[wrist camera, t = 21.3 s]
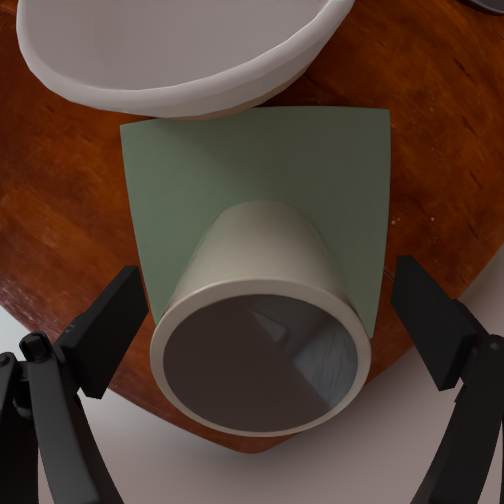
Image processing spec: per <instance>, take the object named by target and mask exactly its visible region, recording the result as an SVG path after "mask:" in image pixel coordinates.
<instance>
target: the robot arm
mask: <svg viewBox="0 0 504 504" xmlns="http://www.w3.org/2000/svg"><path fill="white" fill-rule="evenodd" d="M459 1H461V2H462V3H464V4H466V5H467V6H469V7H471V8H473V9H475V10H477V11H480V12H482V13H485V14H489V15H494V16H504V0H459ZM390 303H391V304H392V306H393V308H394V310H395V311H396V313H397V315H398V316H399V318H400V320H401V321H402V323H403V325H404V327H405V328H406V330H407V332H408V334H409V336H410V337H411V339H412V341H413V343H414V344H415V346H416V348H417V350H418V352H419V354H420V355H421V357H422V359H423V361H424V363H425V365H426V367H427V369H428V370H429V372H430V374H431V376H432V378H433V380H434V382H435V384H436V386H437V388H438V390H439V391H443V390H447V389H451V388H455V386H456V384H457V381H458V379H459V377H461V379H462V381H463V383H464V384H463V386H462V388H461V390H460V392H459V394H458V396H457V397H456V399H455V401H454V402H456V405H455V408H454V411H453V413H452V416H451V419H450V421H449V424H448V426H447V429H446V431H445V434H444V437H443V439H442V441H441V444H440V446H439V448H438V450H437V452H436V455H435V457H434V459H433V461H432V463H431V465H430V468H429V469H428V472H427V473H426V475H425V478H424V479H423V481H422V483H421V485H420V487H419V489H418V491H417V492H416V494H415V496H414V498H413V500H412V501H411V503H410V504H477V503H478V500H479V498H480V495H481V492H482V489H483V487H484V484H485V481H486V478H487V475H488V472H489V468H490V465H491V462H492V458H493V455H494V451H495V447H496V443H497V439H498V435H499V431H500V426H501V421H502V431H503V462H502V483H501V493H500V503H499V504H504V338H503V337H501V336H499V335H494V334H492V335H489V333H488V332H487V331H486V330H485V329H484V327H483V326H482V325H481V324H480V323H479V322H478V320H477V319H476V318H474V315H473V314H472V313H470V311H469V310H468V308H467V307H466V306H465V305H464V304H463V303H461V302H459V301H458V300H456V299H450V298H449V296H448V295H447V294H446V293H445V292H444V291H443V290H442V288H441V287H440V286H439V285H438V284H437V283H436V282H435V281H434V279H433V278H432V277H431V276H430V275H429V274H428V273H427V272H426V271H425V270H424V269H423V267H422V266H421V265H420V264H419V263H418V262H417V261H416V260H415V259H414V258H413V257H412V256H411V255H400V256H397V264H396V271H395V278H394V284H393V290H392V296H391V302H390ZM148 312H149V309H148V305H147V301H146V297H145V293H144V289H143V285H142V281H141V277H140V272H139V268H138V266H125V267H124V268H123V269H122V270H121V271H120V272H119V273H118V275H117V276H116V277H115V278H114V279H113V280H112V281H111V283H110V284H109V285H108V286H107V287H106V288H105V289H104V291H103V292H102V293H101V294H100V295H99V296H98V298H97V299H96V300H95V301H94V302H93V304H92V305H91V306H90V307H89V308H88V310H87V311H86V312H83V313H81V314H80V315H78V316H77V317H75V318H74V319H73V320H72V322H71V323H70V324H69V326H67V328H66V329H65V330H64V332H63V333H62V334H61V335H60V336H59V338H58V339H57V340H56V341H55V343H54V344H53V345H51V343H50V341H49V339H48V337H47V335H46V333H45V332H43V331H35V332H32V333H30V334H28V335H26V336H25V337H24V338H22V340H21V341H20V343H19V347H20V349H21V351H22V353H23V355H24V357H25V358H26V360H27V361H17V359H16V357H15V355H14V354H13V353H11V352H5V353H1V354H0V504H39V502H38V501H39V500H38V445H39V449H40V454H41V457H42V462H43V466H44V470H45V474H46V477H47V481H48V484H49V488H50V491H51V494H52V497H53V500H54V503H55V504H124V502H123V501H122V498H121V497H120V495H119V493H118V491H117V489H116V487H115V485H114V483H113V481H112V479H111V476H110V474H109V472H108V470H107V468H106V466H105V463H104V461H103V459H102V457H101V454H100V452H99V449H98V447H97V445H96V442H95V440H94V437H93V435H92V432H91V429H90V427H89V424H88V421H87V418H86V415H85V413H84V409H83V407H82V404H81V400H80V398H79V396H78V395H77V392H78V390H79V388H80V387H81V389H82V390H83V392H84V394H85V395H86V397H91V398H96V399H102V397H103V395H104V393H105V391H106V389H107V387H108V385H109V383H110V381H111V379H112V377H113V375H114V373H115V372H116V370H117V368H118V366H119V364H120V362H121V360H122V358H123V357H124V355H125V353H126V351H127V349H128V347H129V346H130V344H131V342H132V340H133V338H134V337H135V335H136V333H137V331H138V329H139V328H140V326H141V324H142V322H143V321H144V319H145V317H146V315H147V314H148ZM13 402H14V403H13Z"/></svg>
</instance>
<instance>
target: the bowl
mask: <svg viewBox="0 0 504 504" xmlns="http://www.w3.org/2000/svg"><path fill="white" fill-rule="evenodd" d="M354 2H355V0H19V2H18V7H17V22H16V30H17V36H18V41H19V46H20V51H21V53H22V55H23V57H24V59H25V61H26V63H27V65H28V67H29V69H30V70H31V71H32V72H33V73H34V74H35V76H36V77H37V78H38V79H39V80H40V81H41V82H42V83H43V84H44V85H45V86H46V87H47V88H48V89H50V90H52V91H53V92H55V93H57V94H59V95H60V96H62V97H64V98H65V99H67V100H69V101H71V102H75V103H78V104H82V105H86V106H89V107H93V108H96V109H100V110H108V111H115V112H122V113H129V114H135V115H145V116H151V117H157V118H165V119H173V120H181V121H188V120H208V119H214V118H218V117H223V116H227V115H232V114H236V113H239V112H241V111H244V110H247V109H249V108H252V107H254V106H257V105H260V104H262V103H264V102H265V101H267V100H269V99H270V98H272V97H274V96H275V95H277V94H279V93H280V92H282V91H284V90H285V89H286V88H287V87H289V86H290V85H291V84H292V83H293V82H294V81H295V80H297V79H298V78H299V77H300V76H301V75H303V74H304V72H305V71H306V70H307V68H308V67H309V66H310V65H311V63H312V62H313V61H314V60H315V58H316V57H317V56H318V54H319V53H320V51H321V50H322V48H323V47H324V46H325V44H326V43H327V42H328V41H329V39H330V38H331V37H332V35H333V34H334V32H335V31H336V30H337V28H338V27H339V25H340V24H341V23H342V21H343V20H344V18H345V17H346V16H347V14H348V13H349V11H350V10H351V9H352V6H353V4H354Z"/></svg>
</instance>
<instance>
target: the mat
mask: <svg viewBox="0 0 504 504" xmlns="http://www.w3.org/2000/svg"><path fill="white" fill-rule="evenodd" d="M120 131H121V141H122V151H123V159H124V167H125V175H126V182H127V189H128V196H129V203H130V209H131V215H132V221H133V226H134V232H135V237H136V242H137V247H138V252H139V257H140V262H141V267H142V271H143V276H144V280H145V285H146V289H147V293H148V297H149V301H150V305H151V309H152V313H153V317H154V321H155V325H156V326H157V324H158V322H159V320H160V318H161V316H162V314H163V312H164V310H165V308H166V306H167V304H168V302H169V300H170V298H171V296H172V294H173V292H174V290H175V288H176V286H177V284H178V282H179V280H180V278H181V276H182V274H183V272H184V270H185V268H186V266H187V264H188V262H189V260H190V258H191V256H192V255H193V253H194V251H195V249H196V247H197V245H198V243H199V241H200V239H201V237H202V236H203V234H204V232H205V230H206V229H207V227H208V226H209V225H210V223H211V222H212V221H213V220H214V219H215V218H216V217H217V216H218V215H219V214H221V213H222V212H224V211H225V210H227V209H229V208H231V207H232V206H235V205H237V204H240V203H244V202H248V201H255V200H269V201H275V202H279V203H283V204H286V205H288V206H290V207H292V208H295V209H296V210H298V211H299V212H301V213H302V214H303V215H305V216H306V217H307V218H308V219H309V220H310V221H311V222H312V223H313V224H314V226H315V227H316V229H317V230H318V232H319V234H320V236H321V238H322V240H323V241H324V243H325V245H326V247H327V249H328V251H329V253H330V255H331V257H332V259H333V261H334V263H335V265H336V267H337V269H338V271H339V273H340V275H341V277H342V279H343V281H344V283H345V286H346V288H347V290H348V292H349V294H350V296H351V298H352V300H353V302H354V304H355V307H356V309H357V311H358V313H359V315H360V317H361V320H362V322H363V324H364V326H365V329H366V331H367V334H368V336H369V338H373V333H374V327H375V322H376V316H377V310H378V303H379V297H380V290H381V283H382V275H383V267H384V258H385V249H386V239H387V227H388V213H389V195H390V161H391V138H390V110H389V109H378V108H363V107H343V106H274V107H254V108H249V109H247V110H244V111H241V112H239V113H236V114H232V115H227V116H223V117H218V118H214V119H208V120H188V121H181V120H173V119H165V118H156V119H150V120H144V121H139V122H134V123H128V124H123V125H120Z"/></svg>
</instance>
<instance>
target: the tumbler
mask: <svg viewBox="0 0 504 504" xmlns="http://www.w3.org/2000/svg"><path fill="white" fill-rule="evenodd" d="M370 363H371V345H370V340H369V336H368V334H367V331H366V329H365V326H364V324H363V322H362V320H361V317H360V315H359V313H358V311H357V309H356V307H355V304H354V302H353V300H352V298H351V296H350V294H349V292H348V290H347V288H346V286H345V283H344V281H343V279H342V277H341V275H340V273H339V271H338V269H337V267H336V265H335V263H334V261H333V259H332V257H331V255H330V253H329V251H328V249H327V247H326V245H325V243H324V241H323V240H322V238H321V236H320V234H319V232H318V230H317V229H316V227H315V226H314V224H313V223H312V222H311V221H310V220H309V219H308V218H307V217H306V216H305V215H303V214H302V213H301V212H299V211H298V210H296V209H295V208H292V207H290V206H288V205H286V204H283V203H279V202H275V201H269V200H255V201H248V202H244V203H240V204H237V205H235V206H232V207H231V208H229V209H227V210H225V211H224V212H222V213H221V214H219V215H218V216H217V217H216V218H215V219H214V220H213V221H212V222H211V223H210V225H209V226H208V227H207V229H206V230H205V232H204V234H203V236H202V237H201V239H200V241H199V243H198V245H197V247H196V249H195V251H194V253H193V255H192V256H191V258H190V260H189V262H188V264H187V266H186V268H185V270H184V272H183V274H182V276H181V278H180V280H179V282H178V284H177V286H176V288H175V290H174V292H173V294H172V296H171V298H170V300H169V302H168V304H167V306H166V308H165V310H164V312H163V314H162V316H161V318H160V320H159V322H158V324H157V326H156V328H155V330H154V333H153V336H152V340H151V344H150V364H151V368H152V372H153V375H154V378H155V380H156V383H157V384H158V386H159V388H160V389H161V391H162V393H163V394H164V395H165V396H166V397H167V399H168V400H169V401H170V402H171V403H172V404H173V405H174V406H175V407H176V408H177V409H179V410H180V411H181V412H183V413H184V414H185V415H187V416H188V417H190V418H192V419H193V420H195V421H197V422H199V423H201V424H203V425H205V426H207V427H210V428H213V429H215V430H218V431H222V432H225V433H230V434H235V435H241V436H250V437H271V436H280V435H287V434H292V433H296V432H300V431H303V430H306V429H309V428H311V427H314V426H316V425H319V424H321V423H323V422H325V421H326V420H328V419H330V418H332V417H333V416H335V415H336V414H338V413H339V412H340V411H341V410H342V409H344V408H345V407H346V406H347V405H348V404H349V403H350V402H351V401H352V400H353V399H354V398H355V397H356V395H357V394H358V392H359V391H360V390H361V388H362V386H363V384H364V383H365V381H366V378H367V375H368V373H369V369H370Z"/></svg>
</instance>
